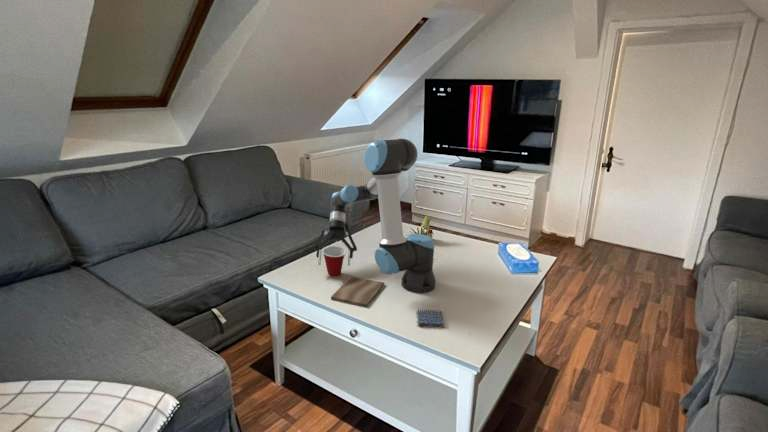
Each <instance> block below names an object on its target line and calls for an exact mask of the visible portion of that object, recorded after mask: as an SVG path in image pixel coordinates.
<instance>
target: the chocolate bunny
mask: <svg viewBox="0 0 768 432" xmlns="http://www.w3.org/2000/svg"><path fill="white" fill-rule="evenodd" d="M430 223H431V218H430V217H429V216H428V215H425V217H424V219H423V222H422V223H421V225H420V227H419V229H420V228H424V229H426V230H427V232H428V236H429V237H431V238H432V239H433V235H434V232H433V229H431V227H430Z"/></svg>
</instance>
